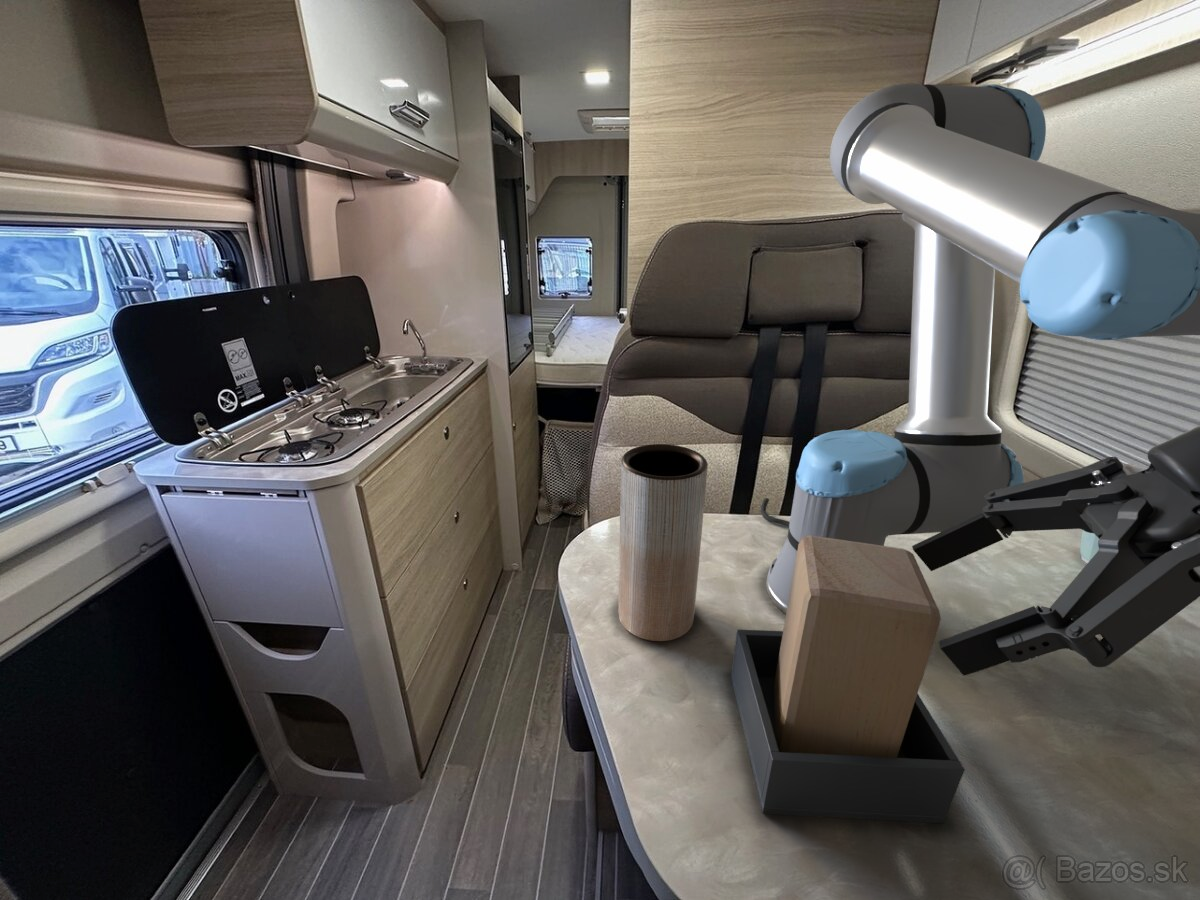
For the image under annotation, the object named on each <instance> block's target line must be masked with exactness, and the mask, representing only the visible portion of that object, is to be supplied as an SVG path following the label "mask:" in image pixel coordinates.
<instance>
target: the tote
mask: <svg viewBox="0 0 1200 900" xmlns="http://www.w3.org/2000/svg"><path fill="white" fill-rule="evenodd" d="M782 635H783V630H761V629H760V630H759V629H736V634H735V643H734V651H733V656H732V657H733V659H732V666H731V673H730V677H731V682H732V687H733V691H734V695H735V700H736V703H737V709H738V713H739V717H740V722H741V726H742V730H743V734H744V738H745V743H746V748H747V753H748V756H749V761H750V765H751V769H752V775H753V778H754V782H755V787H756V791H757V796H758V800H759V805H760V809H761V813H762V814H764V815H780V816H781V815H783V816H801V817H803V816H804V817H819V818H820V817H823V818H839V819H840V818H841V819H859V820H879V821H896V822H897V821H898V822H915V823H934V824H935V823H937V824H944V823H945V822H946V820H947V816H948V814H949V811H950V809H951V807H952V803H953V802H954V799H955V796H956V793H957V791H958V789H959V786H960V783H961V781H962V778H963V776H964V773H965V766H964V765H963V764H962V762H961V761H960V760H959V758H958V756H957V755H956V753H955V751H954V749H953V748H952V746H951V745H950V743H949V742H948V740H947V738H946V737H945V735H944V734H943V732H942V729H940V726H938V724H937V723H936V721H935V719H934V718H933V716H932V714H931V713H930V711H929V709H928V708H927V706H926V704H925V702H924V701H923V700H922V697H921V696H920V695H919V692H918V693H917V696H916V700H915V703H914V706H913V709H912V712H911V715H910V718H909V721H908V725H907V728H906V731H905V734H904V737H903V740H902V743H901V746H900V750H899V753H898V756H897V758H889V757H868V756H847V755H826V754H804V753H783V752H779V749H778V745H777V742H776V739H775V724H774V680H775V675H776V669H777V663H778V658H779V652H780V646H781V641H782Z"/></svg>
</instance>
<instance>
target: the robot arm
mask: <svg viewBox="0 0 1200 900" xmlns="http://www.w3.org/2000/svg"><path fill="white" fill-rule="evenodd" d="M1044 113H1045V112H1044V110H1043V108H1042V106H1041V104H1040V102H1039V101H1038V100H1037V99H1036V98H1035V97H1034V96H1033V95H1032V94H1030V93H1028V92H1026V90H1022V89H1019V88H1012V87H1011V88H1010V87H1006V86H1003V85H1001V84H982V85H978V86H974V85H951V84H929V83H927V84H925V83H924V84H923V83H914V82H913V83H912V82H907V83H898V84H897V83H896V84H893V85H889V86H885V87H882V88H880V89H877V90H875V91H874V92H872V93H870V94H867V95H866V96H865V97H864V98H862V99H860V100H859V101H857V103H856V104H854V105H853V106H852V107H851V108H850V109H849V111H848V112H847V113H846V114H845V115H844V117H842V120H841V121H840V122H839V125H838V126H837V128H836V130H835V132H834V135H833V137H832V141H831V145H830V149H829V150H830V151H829V162H830V169H831V172H832V174H833V177H834V178H835V180H836V182H837V183H838V185H839V186H840V187H841V188H842V189H843V190H845V191H846V192H847V193H848V194H850V196H851V195H852V196H853V197H855V198H856V199H858V200H860V201H861V202H864V203H865V204H870V205H881V204H887V205H889V206H890V207H892V208H893V209H895V210H897V211H899V212H901V218H902V221H903V222H905V223H906V224H907V225H909V226H910V227H911V228H912V229H913V230H914V245H913V247H914V248H913V249H914V250H913V270H912V271H913V276H912V299H911V300H912V301H911V324H910V325H911V326H910V327H911V329H910V352H909V379H908V403H907V404H908V407H907V408H908V409H907V415H906V418H905V419H903V420H902V421H901V422H900V423H898V424H897V425H896V426H895V427H894V430H893V431H894V433H893V434H894V435H893V436H892V435H890V434H886V433H883V432H879V431H873V430H868V431H863V430H861V429H840V430H834V431H829V432H826V433H823V434H819V435H818V436H816V437H814V438H812V439H811V440H810V441H809V442H808V443H807V445H806V446H805V447H804V448H803V450H802V453H801V456H800V460H799V463H798V467H797V469H796V472H795V486H794V487H795V488H794V494H793V499H792V506H791V513H790V519H789V521H788V520H785V519H781V518H777V517H773V516H771V515H769V514H768V513H767V506H768V504H769V502H770V499H769V498H768V497H765V498H764V499H763V501H762V502H761V505H760V514H761V516H762V518H763V519H764V520H766V521H767V522H770V523H773V524H777V525H782V526H786V527H788V531H787V536H786V540H785V541H784V543H783V544H782V546H781V548H780V550H779V552H778V554H777V557H775V559H774V560H773V561H772V562H771V564H770V566H769V568H768V572H767V574H766V575H767V576H766V581H765V582H766V583H765V585H766V586H765V588H766V592H767V595H768V597H769V598H770V600H771V601H772V603H773V604H774V605H775V606H776V607H777V608H778V609H779V610H780V611H781V612H782V613H784V614H785V615H786V613H787V607H788V601H789V596H790V590H791V584H792V579H793V573H794V567H795V562H796V556H797V550H798V545H799V543H800V542H801V540H802V539H803V537H804V536H817V537H824V538H831V539H838V540H846V541H853V542H860V543H867V544H874V545H881V546H885V543H886V539H887V537H888V536H898V535H899V536H900V535H917V534H919V535H920V534H932V533H933V534H934V535H932V536H930V537H928V538H925V539H923V540H921V541H919V542H917V543H915V544H913V545H912V546H911V547H912V551H913V552H914V553H915V554H916V555H917V557H918V558H919V559H920V560H921V562H922V563H923V564H924V565H925V566H926V567H927V568H928V569H929V571H930V572H933V571H935V570H936V571H937V570H938V569H940V568H942V567H945V566H947V565H950V564H952V563H953V562H956V561H958V560H961V559H963V558H965V557H967V556H969V555H972V554H974V553H976V552H978V551H981V550H983V549H986V548H987V547H990V546H992V545H994V544H997V543H999V542H1001V541H1003V540H1004V538H1005V539H1009V537H1010V536H1011V535H1012V534H1013V532H1036V531H1056V530H1057V531H1059V530H1082V531H1083V530H1084V531H1086V532H1089V533H1094V534H1095V535H1096V536H1097V537H1098V538H1099V541H1098V546H1099V550H1098V552H1097V553H1096V554H1095V555H1094V557H1093V558H1092V559H1091V560H1090V561H1089V562H1088V564H1087V563H1086V564H1085V566H1084V567H1082V569H1081V571H1079V573H1077V575H1076V576H1075V577H1074V578H1073V580H1072V581H1071V582H1070V583H1069V584H1068V586H1067V587H1066V588H1065V589H1064V590H1063V592H1062V593H1061V594H1060V595H1059V596H1058V597H1057V599H1056V600H1055V601H1054V602H1053V603H1052V605H1050V606H1049V607H1047V606H1040V605H1036V606H1034V605H1033V606H1030V607H1027V608H1025V609H1021V610H1019V611H1016V612H1014V613H1012V614H1009V615H1006V616H1003V617H1001V618H998V619H995V620H991V621H990V622H987V623H984V624H982V625H981V624H980V625H979V626H977V627H973V628H971V629H968V630H966V631H963V632H960V633H957V634H955V635H952V636H949V637H947V638H944V639H941V640H939V641H938V645H939V648H940V650H941V651H942V653H944V655H945V656H946V658H948V659H949V661H951V663H952V664H953V665H954V666H955V667H956V668H957V670H958V671H959V672H960V673H961V675H962V676H964V677H965V676H968V675H971V674H974V673H977V672H980V671H983V670H987V669H989V668H993V667H996V666H998V665H1002V664H1004V663H1008V662H1010V663H1011V664H1014V663H1015V664H1016V663H1023V662H1025V661H1029V660H1032V659H1036V658H1039V657H1041V656H1044V655H1048V654H1050V653H1053V652H1057V651H1060V650H1070V651H1072V652H1073V651H1074V652H1076V654H1078V655H1080V657H1083V658H1084V659H1086V661H1087V662H1088V664H1090V665H1091V666H1092V667H1096V668H1105V667H1108V666H1110V665H1111V664H1112V663H1114V662H1115V661H1116V660H1118V659H1120V658H1121V657H1122V656H1123V655H1125V654H1126V653H1127V652H1129V651H1130V650H1131V649H1133V648H1134V647H1135V646H1136V645H1138V644H1139V643H1140V642H1142V641H1143V640H1144V639H1146V638H1147V637H1148V636H1150V635H1151V634H1152V633H1154V632H1155V631H1157V630H1158V629H1159V628H1160V627H1161V626H1163V625H1164V624H1166V623H1167V622H1168V621H1169V620H1171V619H1172V618H1173V617H1175V616H1176V615H1178V614H1179V613H1180V612H1181V611H1183V610H1184V609H1185V608H1187V607H1188V606H1189V605H1191V604H1192V603H1193V602H1195V601H1196V600H1197V599H1199V598H1200V425H1198V426H1196V427H1194V428H1191V429H1189V430H1187V431H1185V432H1183V433H1181V434H1178V435H1176V436H1174V437H1172V438H1170V439H1168V440H1165V441H1163V442H1161V443H1159V444H1156V445H1154V446H1152V447H1151V448H1150V449H1149V450H1148V451H1147V459H1148V461H1149V463H1150V464H1149V466H1148V467H1149V468H1148V469H1146V470H1144V471H1141V472H1138V473H1134V474H1130V473H1129V472H1128V470H1127V469H1126V468H1125V467H1124V466H1123V464H1124V463H1123V462H1121V460H1120V459H1119V458H1118V456H1108V457H1105V458H1103V459H1100V460H1097V461H1096V462H1093V463H1090V464H1088V465H1086V466H1083V467H1081V468H1077V469H1074V470H1069V471H1065V472H1062V473H1059V474H1058V473H1057V474H1054V475H1049V476H1046V477H1042V478H1039V479H1033V480H1030V481H1026V482H1025V478H1024V477H1025V475H1024V470H1023V466H1022V464H1021V462H1020V461H1017V460H1016V458H1017V454H1016V453H1015V452H1014V450H1012V449H1011V447H1009V446H1007V445H1006V444H1004V443H1002V431H1003V430H1002V428H1000V426H998V424H996V423H995V422H994V421H993V420H992V419H990V417H989V416H988V411H989V410H988V409H989V391H990V390H989V389H990V371H991V370H990V369H991V352H992V336H993V335H992V333H993V316H994V315H993V314H994V300H995V299H994V298H995V281H996V279H995V277H996V271H999V272H1000V273H1002V274H1003V275H1005V276H1007V277H1008V278H1010V279H1012V280H1013V281H1014V282H1016V283H1018V284H1019V296H1020V297H1019V298H1020V302H1021V303H1023V304H1024V305H1025V308H1026V311H1027V318H1029V320H1030V321H1031V322H1032V323H1033V324H1034V325H1035V326H1037V327H1038V328H1040V329H1041V330H1043V331H1046V332H1048V333H1049V334H1053V335H1057V336H1064V337H1081V338H1086V339H1090V340H1097V341H1098V340H1099V341H1114V340H1123V339H1131V338H1132V339H1133V338H1147V337H1149V338H1150V337H1152V338H1153V337H1177V336H1178V337H1181V336H1200V212H1188V211H1184V210H1180V209H1175V208H1172V207H1169V206H1167V205H1163V204H1160V203H1158V202H1155V201H1151V200H1148V199H1146V198H1143V197H1140V196H1137V195H1133V194H1129V193H1128V192H1127V191H1124V190H1121V189H1118V188H1115V187H1113V186H1109V185H1107V184H1103V183H1101V182H1098V181H1096V180H1092V179H1089V178H1087V177H1084V176H1081V175H1078V174H1075V173H1072V172H1070V171H1067V170H1064V169H1061V168H1058V167H1056V166H1053V165H1049V164H1046V163H1043V162H1041V161H1039V160H1040V158H1041V156H1042V153H1043V151H1044V148H1045V142H1046V137H1047V136H1046V134H1047V123H1046V117H1045V114H1044ZM1122 463H1123V464H1122ZM1091 482H1093V483H1091ZM1089 503H1090V504H1089ZM1088 504H1089V505H1088ZM1097 636H1100V637H1102V638H1101V639H1100V640H1099V638H1098V637H1097Z"/></svg>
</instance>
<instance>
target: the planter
mask: <svg viewBox="0 0 1200 900" xmlns="http://www.w3.org/2000/svg"><path fill="white" fill-rule="evenodd" d="M707 479H708V461H707V459H706V458H705V457H704V456H703V455H702V454H701V453H699V452H698V451H696V450H694V449H691V448H688V447H684V446H681V445H675V444H668V443H667V444H666V443H652V444H645V445H639V446H636V447H633V448H631V449H628V450H627V451H626V452H625V453H624V454H623V455H622V456H621V460H620V491H619V493H620V494H619V495H620V497H619V541H618V542H619V543H618V544H619V545H618V547H619V549H618V550H619V551H618V590H617V591H618V595H617V596H618V598H617V599H618V600H617V609H618V610H617V611H618V619H619V621H620V624H621V625H622V626H623V627H624V628H625V630H626V631H628V632H629V633H631V634H632V635H634V636H636V637H637V638H639V639H643V640H646V641H653V642H667V641H673V640H675V639H676V640H677V639H678V638H681V637H682V636H684V635H685V634H687V633H688V632H689V630H690V629H691V628H692V627H693V624H694V619H695V611H696V603H697V601H696V600H697V589H698V580H699V579H698V578H699V577H698V576H699V569H700V568H699V567H700V557H701V555H700V554H701V546H702V545H701V544H702V534H703V523H704V511H705V501H706V500H705V499H706V490H707V489H706V488H707Z"/></svg>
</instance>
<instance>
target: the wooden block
mask: <svg viewBox="0 0 1200 900" xmlns="http://www.w3.org/2000/svg"><path fill="white" fill-rule="evenodd" d="M941 621H942V617H941V613H940V609H939V607H938V605H937V603H936V601H935V599H934V596H933V594H932V592H931V590H930V588H929V585H928V583H927V581H926V579H925V576H924V574H923V572H922V570H921V567H920V566H919V563H918V562H917V559H916V556H915V555H914V553H912V552H911V551H910V550H907V549H905V548H901V547H894V546H886V545H884V546H881V545H874V544H867V543H860V542H853V541H846V540H838V539H831V538H824V537H817V536H804V537H803V539H802V540H801V542H800V543H799V545H798V550H797V556H796V562H795V567H794V573H793V579H792V584H791V590H790V596H789V601H788V607H787V613H786V614H785V619H784V624H783V630H782V631H783V635H782V641H781V646H780V652H779V658H778V663H777V669H776V675H775V680H774V724H775V739H776V742H777V745H778V749H779V752H783V753H804V754H826V755H847V756H868V757H889V758H897V756H898V753H899V750H900V746H901V743H902V740H903V737H904V734H905V731H906V728H907V725H908V721H909V718H910V715H911V712H912V709H913V706H914V703H915V700H916V696H917V693H918V694H919V690H920V688H921V683H922V682H923V681H922V680H923V677H924V675H925V671H926V668H927V665H928V662H929V658H930V655H931V652H932V649H933V646H934V643H935V640H936V637H937V633H938V631H939V628H940V624H941Z"/></svg>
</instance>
